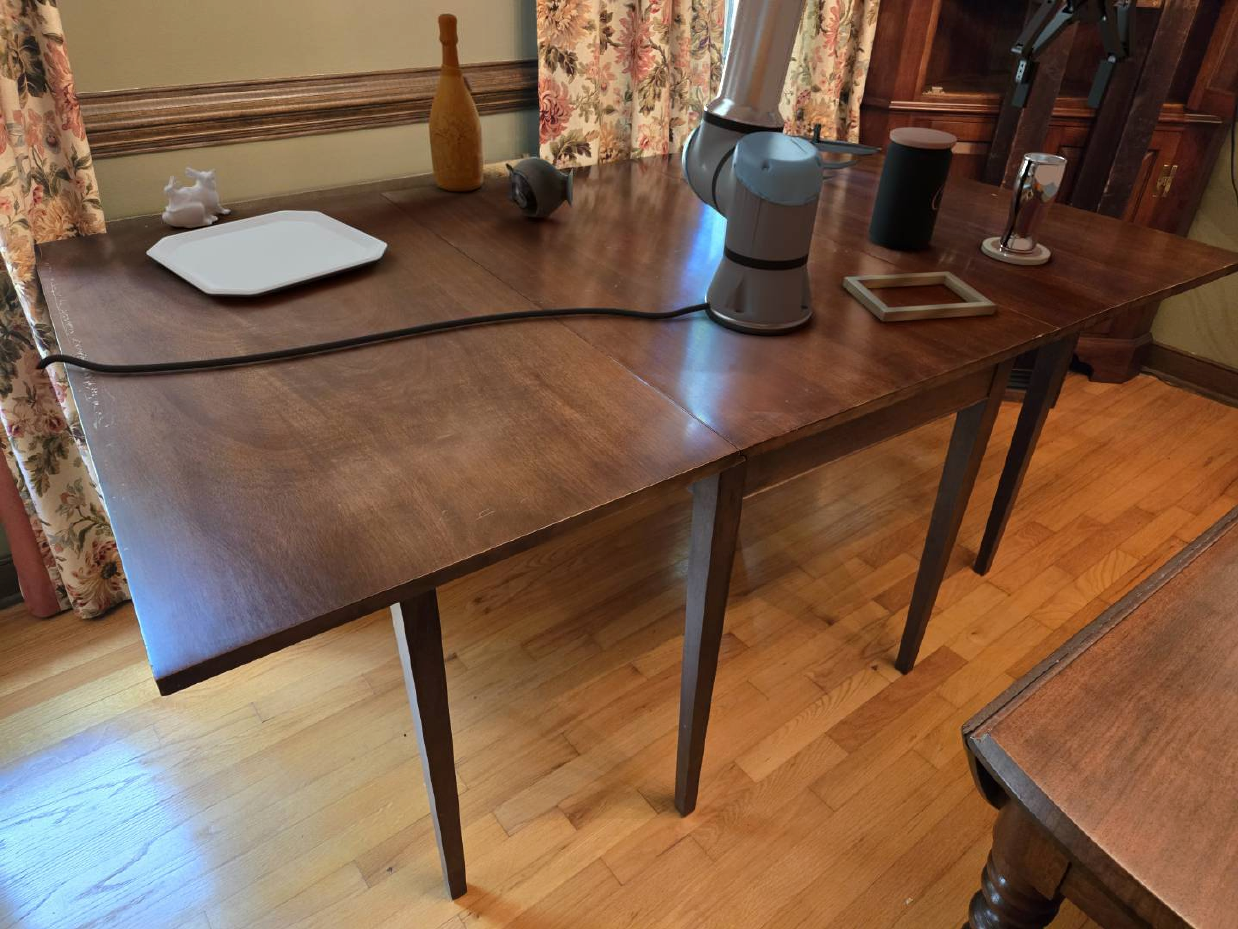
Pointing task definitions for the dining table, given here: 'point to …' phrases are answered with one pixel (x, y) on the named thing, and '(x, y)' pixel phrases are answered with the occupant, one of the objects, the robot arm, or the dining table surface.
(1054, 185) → the beer glass
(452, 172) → the wine bottle
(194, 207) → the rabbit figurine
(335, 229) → the plate
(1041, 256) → the trivet
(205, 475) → the dining table surface
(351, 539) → the dining table surface
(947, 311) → the picture frame
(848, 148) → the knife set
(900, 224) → the coffee jar
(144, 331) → the dining table surface
